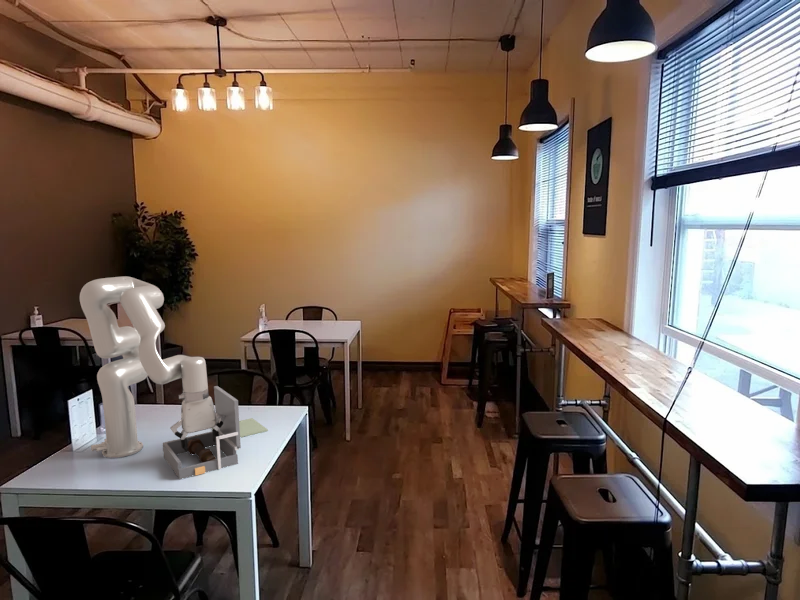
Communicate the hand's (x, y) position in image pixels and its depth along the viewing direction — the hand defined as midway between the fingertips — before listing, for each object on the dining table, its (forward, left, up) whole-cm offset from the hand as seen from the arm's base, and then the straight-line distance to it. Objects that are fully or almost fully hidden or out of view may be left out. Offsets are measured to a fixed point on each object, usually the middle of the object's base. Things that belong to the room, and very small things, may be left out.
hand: (200, 445), depth 175 cm
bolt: (0, +1, -6) cm, 6 cm away
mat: (+20, +20, -5) cm, 28 cm away
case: (0, +1, -5) cm, 5 cm away
